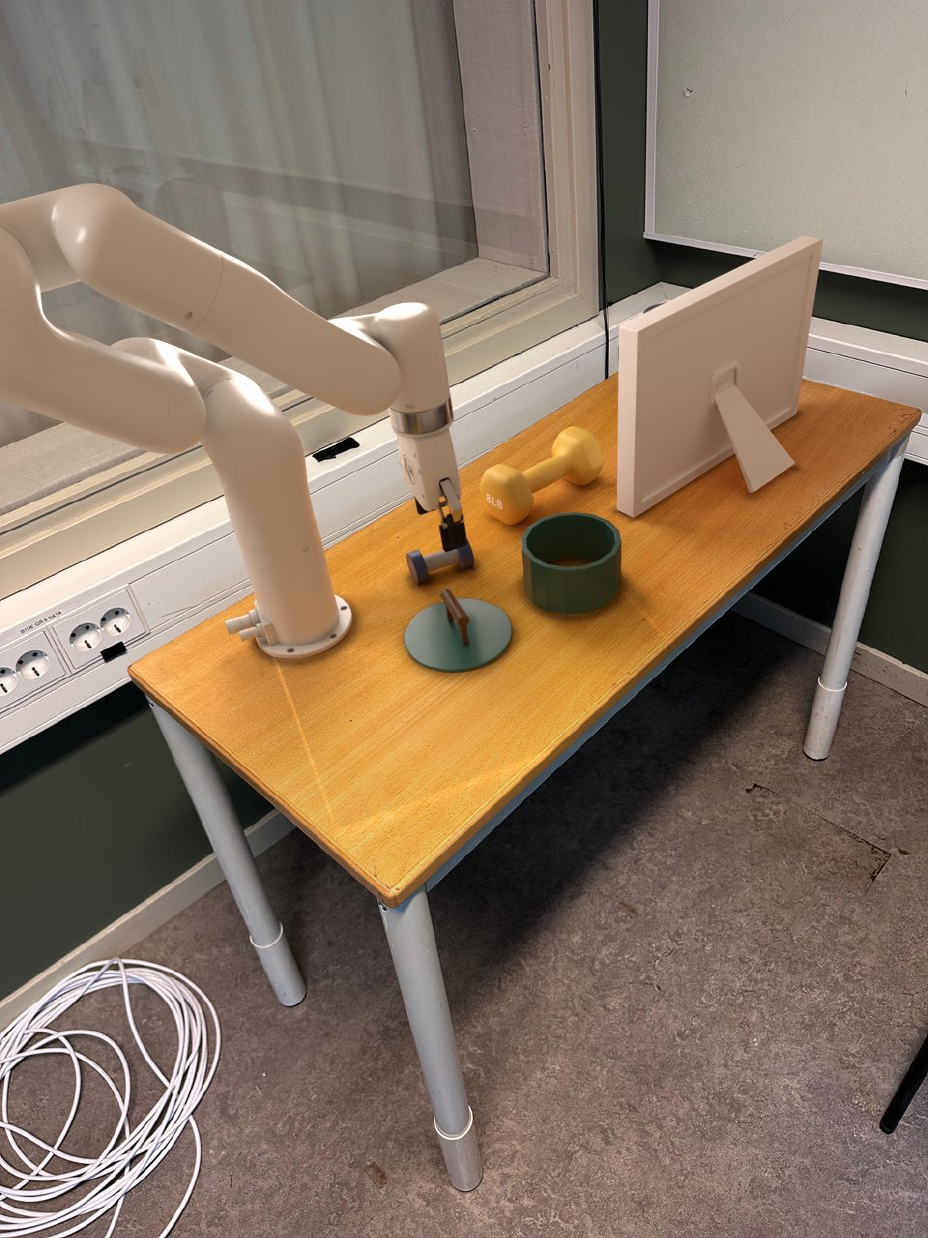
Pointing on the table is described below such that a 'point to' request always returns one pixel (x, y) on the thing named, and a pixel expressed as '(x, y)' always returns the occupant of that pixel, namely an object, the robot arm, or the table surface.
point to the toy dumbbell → (437, 561)
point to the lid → (458, 634)
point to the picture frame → (714, 376)
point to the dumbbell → (541, 475)
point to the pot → (575, 583)
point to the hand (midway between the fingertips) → (441, 528)
